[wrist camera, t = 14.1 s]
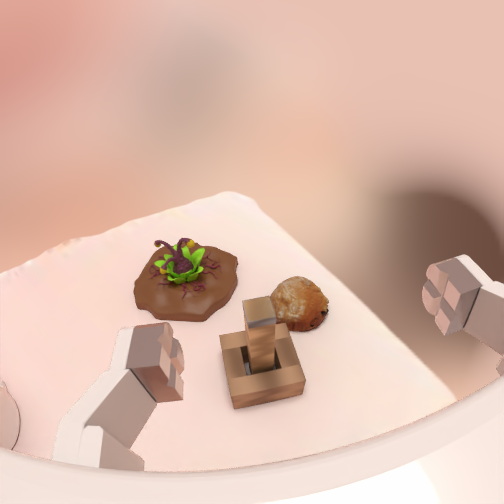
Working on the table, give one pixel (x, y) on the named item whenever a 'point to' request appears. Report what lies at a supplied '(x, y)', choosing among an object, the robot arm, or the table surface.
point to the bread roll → (299, 304)
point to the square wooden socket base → (267, 383)
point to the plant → (186, 281)
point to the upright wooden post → (260, 333)
